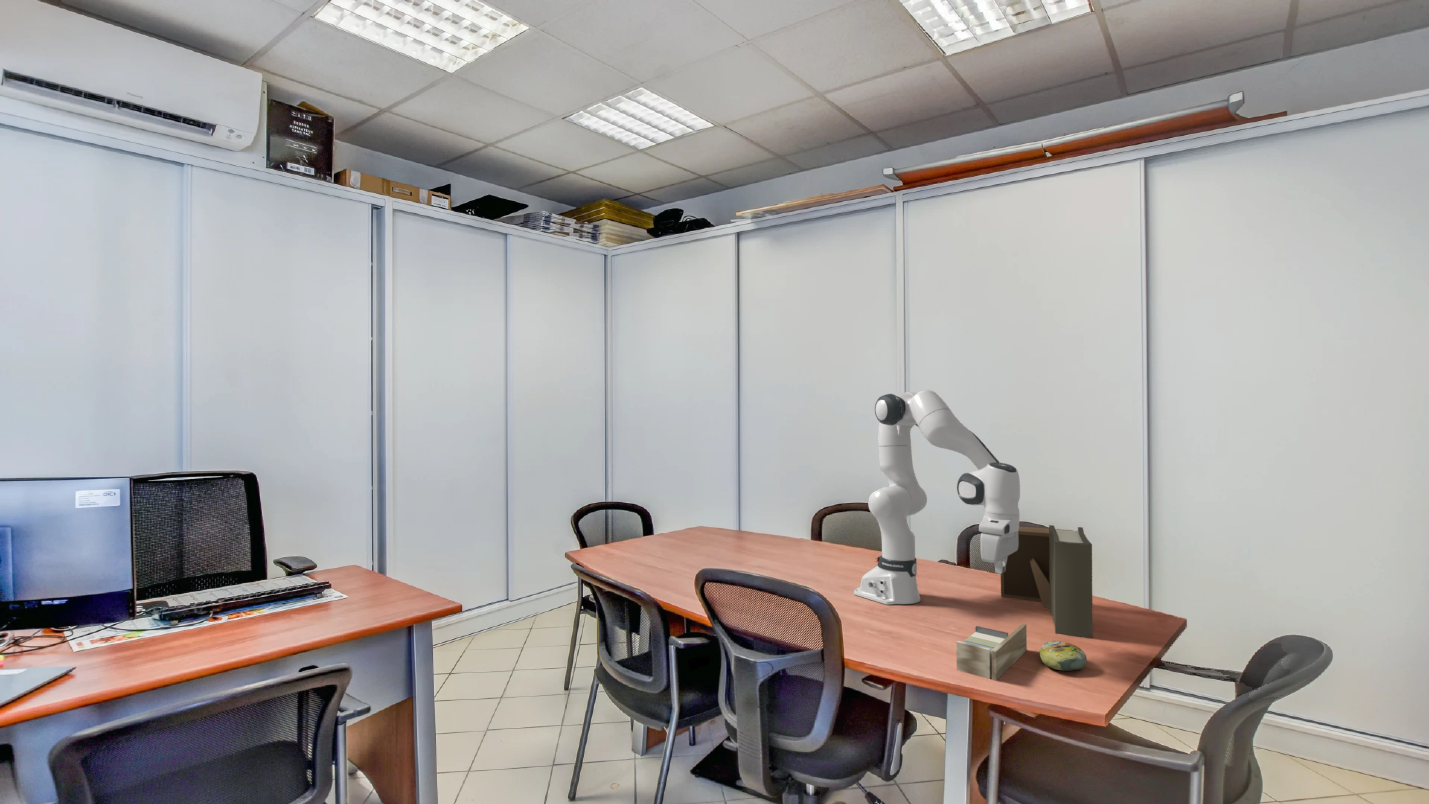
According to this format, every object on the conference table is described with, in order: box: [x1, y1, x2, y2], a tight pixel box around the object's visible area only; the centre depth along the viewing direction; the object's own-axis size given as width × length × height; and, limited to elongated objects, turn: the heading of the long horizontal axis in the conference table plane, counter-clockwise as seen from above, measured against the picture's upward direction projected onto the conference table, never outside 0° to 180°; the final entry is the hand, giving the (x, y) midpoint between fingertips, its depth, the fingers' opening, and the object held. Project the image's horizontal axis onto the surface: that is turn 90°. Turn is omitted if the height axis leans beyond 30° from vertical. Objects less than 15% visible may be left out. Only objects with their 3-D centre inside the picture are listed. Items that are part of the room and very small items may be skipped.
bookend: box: [975, 625, 1009, 639], centre depth 166 cm, size 8×7×7 cm
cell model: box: [1039, 640, 1088, 672], centre depth 159 cm, size 10×8×14 cm
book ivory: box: [970, 631, 1004, 643], centre depth 162 cm, size 8×4×6 cm, turn 48°
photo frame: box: [1000, 525, 1074, 610], centre depth 208 cm, size 15×22×25 cm
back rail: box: [956, 623, 1028, 682], centre depth 163 cm, size 10×25×7 cm, turn 138°
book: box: [1048, 524, 1094, 639], centre depth 188 cm, size 22×9×28 cm, turn 156°
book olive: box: [963, 635, 1000, 648], centre depth 159 cm, size 8×4×6 cm, turn 48°
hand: (1000, 572), depth 171 cm, fingers closed
